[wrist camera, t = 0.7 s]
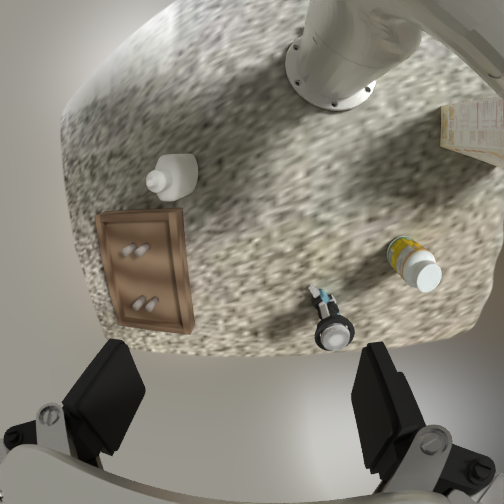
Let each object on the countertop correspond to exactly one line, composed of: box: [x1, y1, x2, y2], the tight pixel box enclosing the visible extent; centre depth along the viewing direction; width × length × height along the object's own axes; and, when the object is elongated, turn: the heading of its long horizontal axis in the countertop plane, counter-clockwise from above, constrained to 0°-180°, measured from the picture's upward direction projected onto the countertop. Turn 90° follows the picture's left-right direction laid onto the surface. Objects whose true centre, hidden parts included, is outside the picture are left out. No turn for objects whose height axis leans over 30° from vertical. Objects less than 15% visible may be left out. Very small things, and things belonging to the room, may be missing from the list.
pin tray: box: [95, 208, 195, 335], centre depth 40 cm, size 20×14×4 cm
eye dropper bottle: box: [146, 154, 198, 201], centre depth 31 cm, size 4×6×12 cm
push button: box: [309, 285, 355, 351], centre depth 36 cm, size 7×5×10 cm
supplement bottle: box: [387, 236, 441, 292], centre depth 33 cm, size 5×5×10 cm
